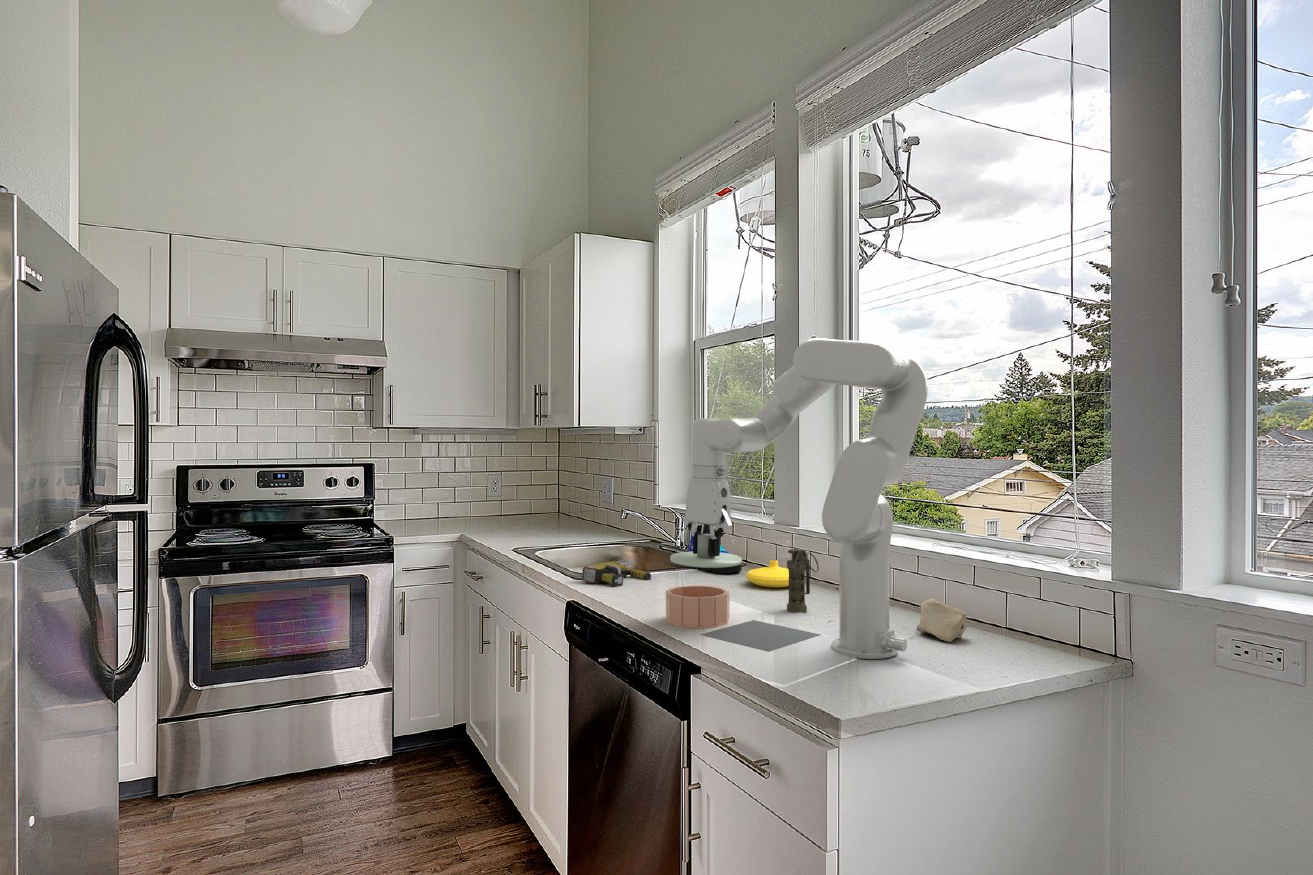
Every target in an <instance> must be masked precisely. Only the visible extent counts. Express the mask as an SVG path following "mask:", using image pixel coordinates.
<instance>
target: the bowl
mask: <svg viewBox="0 0 1313 875" xmlns="http://www.w3.org/2000/svg"><path fill="white" fill-rule="evenodd" d="M665 618H666V622H667V623H668V624H670V625H672V626H676V627H682V628H690V629H706V628H707V629H710V628H717V627H722V626H725V625H726V624H728V623H729V622H730V621H729V619H730V591H729V590H727V589H726V588H724V587H719V586H713V585H701V584H700V585H698V584H697V585H696V584H692V585H680V586H675V587H670V588H668V589H667V590H665Z"/></svg>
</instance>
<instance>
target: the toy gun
mask: <svg viewBox="0 0 1313 875" xmlns="http://www.w3.org/2000/svg"><path fill="white" fill-rule="evenodd" d="M633 563H634V562H633V561H632V560H631V559H629V560H628V559H621V560H612V561H608V562H603V563H602V562H601V563H597V564H592V565H591V564H590V565H585V566H583V567H582V573H581V579H582V581H583V582H585V583H586V584H587V582H588V584H611V587H619V586H620V587H621V586H623V585H624V578H627V576H629V577H631V578H637V579H640V580H644V581H650V580H651V579H652V574H651V573H650V572H647V571H644V570H638V569H635V568H630V569H629V567H630V566H633V565H634V564H633ZM623 577H624V578H623Z"/></svg>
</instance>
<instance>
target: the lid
mask: <svg viewBox="0 0 1313 875" xmlns="http://www.w3.org/2000/svg"><path fill="white" fill-rule="evenodd" d="M709 539H711V534H698V544H697V554H693V551H690V552H689V551H680V552H675V553H672V554H670V555H669V556H670V558H669V560H670V562H671V563H672V564H676V565H679V566H685V567H687V566H691V567H703V568H722V567H732V566H737V565H740V564H741V563H742V562H743V559H742V557H741V556H739V555H737V554H733V553H729V552H728V553H729V554H728V553H721V552H720V555H719V556H715V557H709V556H708V546H709Z"/></svg>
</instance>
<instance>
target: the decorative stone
mask: <svg viewBox="0 0 1313 875" xmlns="http://www.w3.org/2000/svg"><path fill="white" fill-rule="evenodd" d="M920 611H921V612H920V620H919V624H918V625H916V629H917V630H918V631H919V632H921V633H927V634H930V635H933V636H935V638H937V639H939V640H942V641H945V642H947V643H951V642H953V641H954V640H955V639H957V638H958V637H959V638H960V639H962V638H963V637H962V636H963V635H964V632H965V631H966V629H967V627H968V626H967V625H968V620H967V616H968V615H967V613H966V612H965V611H963V610H961V609H959V608H957V607H953V606H951V605H947V604H945V603H944V602H941V601H937V599H934V598H929V599H926V600H924V601H923V602H922V603H921V604H920Z"/></svg>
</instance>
